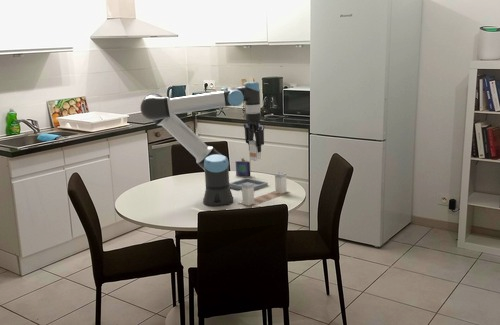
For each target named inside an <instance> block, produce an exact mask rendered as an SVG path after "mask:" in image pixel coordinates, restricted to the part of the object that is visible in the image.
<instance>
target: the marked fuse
mask: <svg viewBox="0 0 500 325" xmlns="http://www.w3.org/2000/svg"><path fill="white" fill-rule="evenodd" d="M256 145H257V144H256V139H253V140H251V141H249V145H248V147H249V146H250V151H249V159H250V160H249V161H254V162H256V161H257V162H258V161H261V160H262V157H261V158H259V159H256Z"/></svg>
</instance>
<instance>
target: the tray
mask: <svg viewBox="0 0 500 325" xmlns="http://www.w3.org/2000/svg"><path fill="white" fill-rule="evenodd" d="M247 182H249V183H253V184H254V191H256V190H259V189H262V188H265V187H267V186H268V185H269V182H267V181H263V180H258V179H253V178H249V177H245V178H242V179H238V180H236V181H232V182H229V187H230V189H232V190H236V191H242V184H244V183H247Z"/></svg>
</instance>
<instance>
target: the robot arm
mask: <svg viewBox="0 0 500 325" xmlns="http://www.w3.org/2000/svg"><path fill="white" fill-rule="evenodd" d="M243 84H244V85H243V86H233V87H232V86H229V87H228V86H227V87H222V88H220V91H216V92H215V91H214V92H207V93H201V94H200V93H199V94H194V95H185V96H179V97H172V98H171V97H169V96H163V95H161V94H160V93H159V94H158V93H150V94H148V95H146V96H145V97H144V98H143V100H142V101H141V103H140V113H141V114H142V116H143V117H144V118H145V119H147V120H148V121H152V122H153V123H154V124H155V125H156V126H161V127H162V128H164V129H165V130H166V131H167V132H168V133H169V134H170V135H172V137H173V138H174V139H175V140H176V141H177V142H178V143H179V144H181V145H182V147H183V148H185V149H186V150H187V151H188V152H189V154H191V155H192V156H193V157H194V158H195V160H196V164H197V165H198V166H199V167H200V168H201V169H203V170H204V179H205V180H204V181H205V191H204V195H203V198H202V204H203V205H204V206H207V207H213V208H217V207H218V208H220V207H226V206H229V205H230V206H231V205H232V204H233V203H234V202H235V200H234V196H233V194H232V191H231V188H230V187H229V183H230V173H229V166H230V164H229V159H228V157H227V156H225V155H223V154H222V153H221V152H219V151H218V150H216V149H215V147H213V146H211V145H207V144H206V143H205V142H204V141H203V140H202V139H201V138H200V137H199V136H198V134H196V133H195V132H194V131H193V130H191V128H189V126H187V124H186V123H184V122H183V121H182V119H180V117H178V116H177V115H179V114H186V113H192V112H193V113H194V112H198V111H206V110H213V109H218V108H225V107H239V106H240V105H242V103H244V102H245V103H244V105H245V118H246V119H245V120H246V121H247V123H244V124H243V127H244V137H245V140H244V141H245V143H246V144H247V145H248V151H249V152H250V146H249V141H251V140H256V144H257V145H256V159H259V158H261V159H262V146H264V145H265V126H264V125H261V124H262V123H261V122H260V121H261V120H262V112H261V92H260V91H261V89H260V84H259V82H258V81H245V82H244V83H243Z"/></svg>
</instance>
